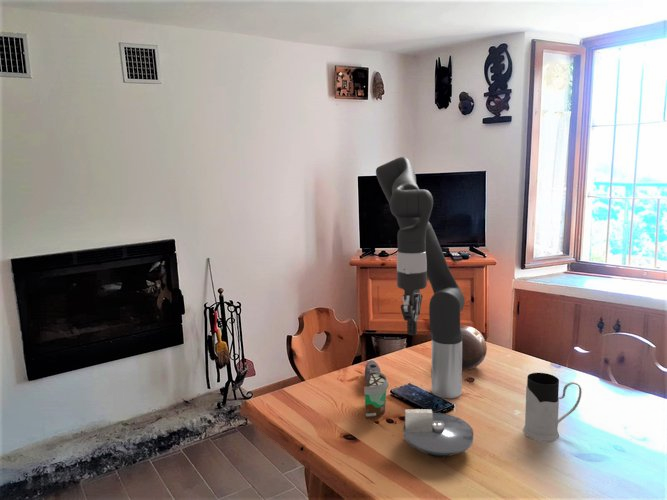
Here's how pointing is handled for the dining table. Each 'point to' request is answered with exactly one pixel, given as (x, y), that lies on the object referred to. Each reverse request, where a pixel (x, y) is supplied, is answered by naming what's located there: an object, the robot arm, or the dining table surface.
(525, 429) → the glass holder
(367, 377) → the perforated stone tool
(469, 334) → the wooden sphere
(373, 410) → the food container
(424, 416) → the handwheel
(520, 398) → the dining table surface
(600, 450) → the dining table surface
